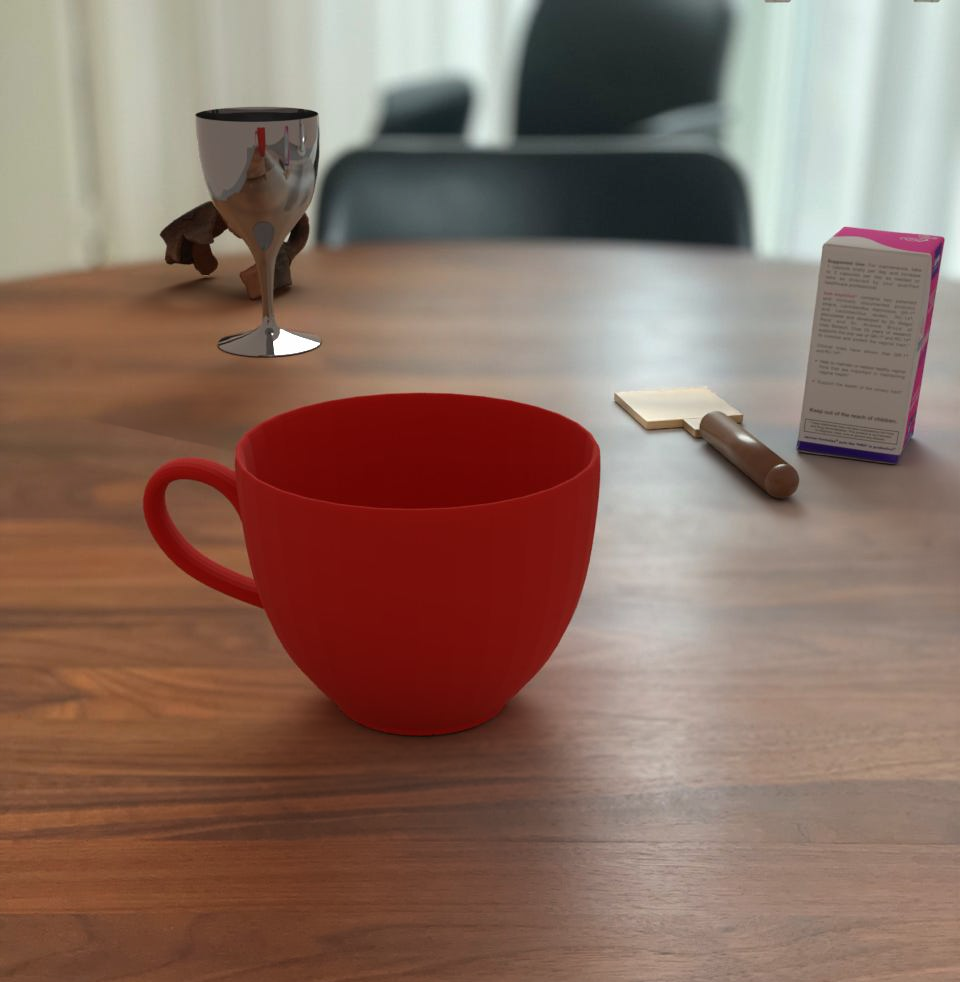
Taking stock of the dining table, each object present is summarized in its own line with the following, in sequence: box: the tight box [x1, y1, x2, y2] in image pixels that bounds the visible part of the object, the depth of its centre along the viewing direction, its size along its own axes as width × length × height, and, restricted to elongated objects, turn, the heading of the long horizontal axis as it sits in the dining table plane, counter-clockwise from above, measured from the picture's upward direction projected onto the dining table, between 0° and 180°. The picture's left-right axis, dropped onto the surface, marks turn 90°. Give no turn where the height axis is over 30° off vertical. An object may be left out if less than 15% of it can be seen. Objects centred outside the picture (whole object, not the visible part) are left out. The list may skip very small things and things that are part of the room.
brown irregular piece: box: [159, 200, 311, 300], centre depth 118 cm, size 12×10×8 cm
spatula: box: [613, 385, 800, 499], centre depth 84 cm, size 19×6×2 cm, turn 14°
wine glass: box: [194, 106, 322, 357], centre depth 100 cm, size 8×8×15 cm
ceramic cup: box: [142, 392, 602, 737], centre depth 55 cm, size 13×17×10 cm
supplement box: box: [795, 226, 946, 465], centre depth 82 cm, size 6×6×12 cm
